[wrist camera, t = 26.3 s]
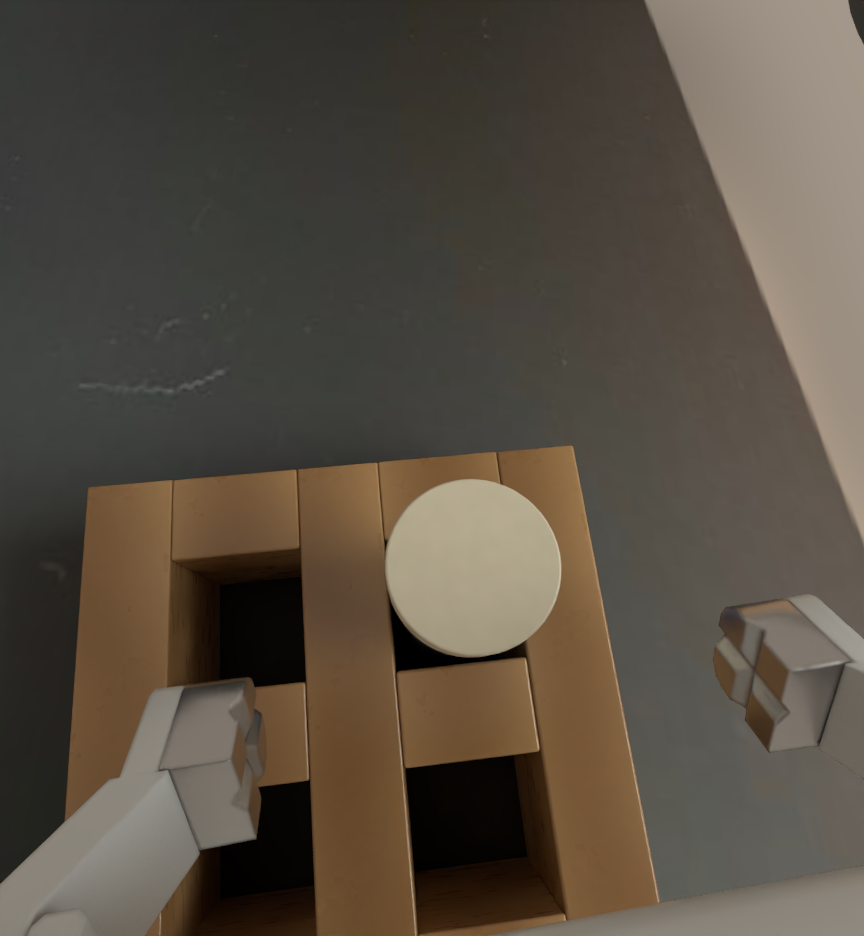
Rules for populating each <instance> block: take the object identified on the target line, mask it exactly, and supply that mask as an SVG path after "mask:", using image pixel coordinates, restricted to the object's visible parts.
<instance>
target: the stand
mask: <svg viewBox="0 0 864 936" xmlns="http://www.w3.org/2000/svg"><path fill="white" fill-rule="evenodd" d="M461 479H479V480H487V481H491V482H495V483H498V484H501V485H504V486H506V487H508V488H510V489H512V490H514V491H516V492H518V493H519V494H521V495H522V496H524V497H525V498H526V499H528V500H529V501H530V502H531V503H532V504H533V505H534V506H535V507H536V508H537V509H538V510H539V511H540V512H541V513H542V515H543V516H544V518H545V519H546V521H547V522H548V524H549V525H550V527H551V529H552V531H553V533H554V536H555V538H556V541H557V544H558V548H559V552H560V557H561V582H560V589H559V593H558V596H557V599H556V602H555V604H554V606H553V609H552V611H551V613H550V614H549V616H548V617H547V619H546V621H545V622H544V623H543V624H542V625H541V627H540V628H539V629H538V630H537V631H536V632H535V633H534V634H533V635H532V636H531V637H529V638H528V639H527V640H525V641H524V642H522V643H521V644H519V645H517V646H515V647H513V648H511V649H509V650H507V651H504V652H501V653H500V660H492V661H483V662H474V663H465V664H456V665H448V666H439V667H430V668H421V669H412V670H403V671H398V672H397V661H396V649H395V638H394V626H393V614H392V603H391V600H390V596H389V593H388V589H387V584H386V577H385V553H386V547H387V543H388V539H389V536H390V534H391V531H392V529H393V527H394V525H395V523H396V521H397V519H398V518H399V516H400V515H401V514H402V512H403V511H404V510H405V508H406V507H407V506H408V505H409V504H410V503H411V502H412V501H413V500H415V499H416V498H417V497H418V496H420V495H421V494H422V493H424V492H426V491H427V490H429V489H431V488H433V487H435V486H438V485H440V484H443V483H446V482H450V481H455V480H461ZM295 577H302V599H303V623H304V647H305V671H306V682H297V683H289V684H280V685H271V686H262V687H255V691H256V700H255V707H254V708H255V709H256V710H258V711H259V712H261V713H262V716H263V720H264V724H265V731H266V749H267V757H266V767H265V774H264V775H263V776H262V777H261V778H260V780H259V781H258V782H257V784H258V787H263V786H271V785H279V784H287V783H295V782H303V781H308V780H309V779H310V791H311V816H312V840H313V864H314V886H309V887H302V888H295V889H288V890H280V891H273V892H266V893H259V894H251V895H244V896H237V897H230V898H222V899H221V900H220V846H219V847H214V848H209V849H204V850H199V852H200V855H199V856H198V858H197V859H196V861H195V862H194V863H193V865H192V866H191V868H190V869H189V871H188V872H187V874H186V875H185V877H184V878H183V880H182V881H181V883H180V884H179V886H178V887H177V889H176V890H175V892H174V893H173V894H172V896H171V897H170V899H169V900H168V902H167V903H166V905H165V906H164V908H163V909H162V911H161V912H160V914H159V915H158V917H157V918H156V920H155V921H154V923H153V924H152V925H151V927H150V928H149V930H148V931H147V933H146V934H145V936H487V935H493V934H498V933H503V932H509V931H514V930H519V929H525V928H530V927H535V926H541V925H546V924H551V923H557V922H562V921H567V920H572V919H578V918H583V917H588V916H594V915H599V914H604V913H610V912H615V911H620V910H626V909H631V908H636V907H641V906H647V905H652V904H657V903H660V898H659V893H658V888H657V883H656V878H655V872H654V867H653V862H652V857H651V851H650V846H649V841H648V836H647V831H646V825H645V820H644V815H643V810H642V804H641V799H640V794H639V789H638V784H637V778H636V773H635V768H634V763H633V757H632V752H631V747H630V742H629V737H628V731H627V726H626V721H625V716H624V710H623V705H622V700H621V695H620V690H619V684H618V679H617V674H616V669H615V663H614V658H613V653H612V648H611V643H610V637H609V632H608V627H607V622H606V616H605V611H604V606H603V601H602V596H601V590H600V585H599V580H598V575H597V570H596V564H595V559H594V554H593V549H592V543H591V538H590V533H589V528H588V523H587V517H586V512H585V507H584V502H583V496H582V491H581V486H580V481H579V476H578V470H577V465H576V460H575V455H574V449H573V447H572V446H558V447H547V448H536V449H524V450H513V451H502V452H497V454H496V453H495V452H487V453H476V454H464V455H453V456H441V457H430V458H419V459H407V460H396V461H385V462H379V463H378V464H377V463H364V464H353V465H341V466H330V467H318V468H307V469H299V470H298V471H296V470H284V471H273V472H262V473H250V474H239V475H227V476H216V477H205V478H193V479H182V480H175V481H174V482H173V481H172V480H167V481H155V482H144V483H132V484H121V485H110V486H98V487H89V488H88V492H87V506H86V521H85V535H84V549H83V564H82V578H81V592H80V607H79V621H78V635H77V650H76V664H75V678H74V693H73V707H72V721H71V736H70V750H69V764H68V779H67V793H66V807H65V821H66V820H67V819H68V818H69V817H70V816H71V815H72V814H74V813H75V812H76V811H77V810H78V809H79V808H80V807H81V806H82V805H83V804H84V803H85V802H86V801H87V800H88V799H89V798H90V797H91V796H92V795H93V794H94V793H95V792H96V791H97V790H98V789H100V788H101V787H102V786H103V785H104V784H105V783H106V782H107V781H108V780H109V779H113V778H119V777H120V774H121V771H122V768H123V766H124V763H125V760H126V757H127V755H128V752H129V749H130V746H131V744H132V741H133V738H134V736H135V733H136V730H137V727H138V725H139V722H140V719H141V716H142V714H143V711H144V708H145V705H146V703H147V700H148V697H149V696H150V695H151V693H152V692H153V691H154V690H155V689H158V688H167V687H176V686H185V685H187V684H194V683H203V682H211V681H219V680H220V584H221V585H225V584H235V583H245V582H255V581H265V580H275V579H285V578H295ZM510 755H514V763H515V770H516V777H517V785H518V792H519V799H520V807H521V814H522V821H523V829H524V836H525V843H526V851H527V857H520V858H513V859H506V860H498V861H491V862H484V863H477V864H469V865H462V866H455V867H447V868H440V869H433V870H426V871H418V872H415V870H414V859H413V847H412V835H411V824H410V812H409V801H408V789H407V777H406V768H414V767H422V766H430V765H438V764H446V763H454V762H462V761H470V760H478V759H486V758H494V757H502V756H510Z"/></svg>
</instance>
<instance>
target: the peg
mask: <svg viewBox="0 0 864 936" xmlns="http://www.w3.org/2000/svg"><path fill="white" fill-rule="evenodd" d="M385 577H386V584H387V589H388V593H389V596H390V600H391V603H392V605H393V607H394V609H395V612H396V613H397V615H398V617H399V618H400V620H401V621H402V623H403V625H404V629H405V631H406V634H407V636H408V637H409V639H410V640H411V641H412V643H413V644H414V645H415V646H416V647H418V648H419V649H420V650H422V651H424V652H426V653H428V654H431V655H436V656H447V655H453V656H457V657H468V658H470V657H483V656H488V655H493V654H498V653H501V652H504V651H507V650H509V649H511V648H513V647H515V646H517V645H519V644H521V643H522V642H524V641H525V640H527V639H528V638H529V637H531V636H532V635H533V634H534V633H535V632H536V631H537V630H538V629H539V628H540V627H541V625H542V624H543V623H544V622H545V621H546V619H547V617H548V616H549V614H550V613H551V611H552V609H553V606H554V604H555V602H556V599H557V596H558V593H559V589H560V582H561V557H560V552H559V548H558V544H557V541H556V538H555V536H554V533H553V531H552V529H551V527H550V525H549V524H548V522H547V521H546V519H545V518H544V516H543V515H542V513H541V512H540V511H539V510H538V509H537V508H536V507H535V506H534V505H533V504H532V503H531V502H530V501H529V500H528V499H526V498H525V497H524V496H522V495H521V494H519V493H518V492H516V491H514V490H512V489H510V488H508V487H506V486H504V485H501V484H498V483H495V482H491V481H487V480H479V479H461V480H455V481H450V482H446V483H443V484H440V485H438V486H435V487H433V488H431V489H429V490H427V491H426V492H424V493H422V494H421V495H420V496H418V497H417V498H416V499H415V500H413V501H412V502H411V503H410V504H409V505H408V506H407V507H406V508H405V510H404V511H403V512H402V514H401V515H400V516H399V518H398V519H397V521H396V523H395V525H394V527H393V529H392V531H391V534H390V536H389V539H388V543H387V547H386V553H385Z"/></svg>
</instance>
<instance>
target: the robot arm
mask: <svg viewBox="0 0 864 936" xmlns="http://www.w3.org/2000/svg"><path fill="white" fill-rule="evenodd" d="M719 626H720V628H721V629H722V630H723V631H724V633H725V634H724V635H723V637H722V638H721V639H720V640H719V641H718V642H717V643H716V644H715V649H714V657H713V662H714V667H715V672H716V676H717V678H718V680H719V683H720V685H721V687H722V689H723V690H724V691H725V693H726V694H727V696H728V697H729V699H731V700H732V701H734V702H736V703H738V704H740V705H741V706H743V707H745V708H746V715H745V721H746V722H747V723H748V725H749V726H750V727H751V729H752V730H753V732H754V733H755V734H756V736H757V737H758V738H759V740H760V741H761V742H762V744H763V745H764V747H765V748H766V749H767V751H768V752H769V753H772V752H779V751H787V750H794V749H801V748H808V747H816V746H819V749H820V750H821V751H823V752H824V753H826V754H827V755H829V756H830V757H832V758H833V759H835V760H836V761H838V762H839V763H841V764H842V765H844V766H845V767H847V768H848V769H850V770H851V771H853V772H854V773H856V774H857V775H859V776H860V777H861V778H863V779H864V639H863V638H862V637H860V636H859V635H858V634H857V633H856V632H855V631H854V630H853V629H852V628H851V627H849V626H848V625H847V624H846V623H845V622H844V621H843V620H842V619H841V618H839V617H838V616H837V615H836V614H835V613H834V612H833V611H832V610H831V609H830V608H828V607H827V606H826V605H825V604H824V603H823V602H822V601H821V600H820V599H819V598H817V597H815V596H812V595H810V594H805V595H799V596H792V597H786V598H781V599H775V600H769V601H762V602H756V603H749V604H743V605H736V606H730V607H726V608H725V609H724V610H723V612H722V613H721V616H720V621H719ZM255 700H256V691H255V687H254V684H253V681H252V679H251V678H249V677H244V678H236V679H227V680H219V681H211V682H203V683H194V684H187V685H185V686H176V687H167V688H158V689H155V690H154V691H153V692H152V693H151V695H150V696H149V697H148V700H147V703H146V705H145V708H144V711H143V714H142V716H141V719H140V722H139V725H138V727H137V730H136V733H135V736H134V738H133V741H132V744H131V746H130V749H129V752H128V755H127V757H126V760H125V763H124V766H123V768H122V771H121V774H120V777H119V778H113V779H109V780H108V781H107V782H106V783H105V784H104V785H103V786H102V787H101V788H100V789H98V790H97V791H96V792H95V793H94V794H93V795H92V796H91V797H90V798H89V799H88V800H87V801H86V802H85V803H84V804H83V805H82V806H81V807H80V808H79V809H78V810H77V811H76V812H75V813H74V814H72V815H71V816H70V817H69V818H68V819H67V820H66V821H65V822H64V823H63V824H62V825H61V826H60V827H59V828H58V829H57V830H56V831H55V832H54V833H53V834H52V835H51V836H50V837H49V838H48V839H46V840H45V841H44V842H43V843H42V844H41V845H40V846H39V847H38V848H37V849H36V850H35V851H34V852H33V853H32V854H31V855H30V856H29V857H28V858H27V859H26V860H25V861H24V862H23V863H22V864H20V865H19V866H18V867H17V868H16V869H15V870H14V871H13V872H12V873H11V874H10V875H9V876H8V877H7V878H6V879H5V880H4V881H3V882H2V883H1V884H0V936H145V934H146V933H147V931H148V930H149V928H150V927H151V925H152V924H153V923H154V921H155V920H156V918H157V917H158V915H159V914H160V912H161V911H162V909H163V908H164V906H165V905H166V903H167V902H168V900H169V899H170V897H171V896H172V894H173V893H174V892H175V890H176V889H177V887H178V886H179V884H180V883H181V881H182V880H183V878H184V877H185V875H186V874H187V872H188V871H189V869H190V868H191V866H192V865H193V863H194V862H195V861H196V859H197V858H198V856H199V855H200V852H199V850H204V849H209V848H214V847H219V846H224V845H229V844H234V843H239V842H244V841H249V840H254V839H256V837H257V829H258V822H259V814H260V807H261V795H260V792H259V788H258V784H257V782H258V781H259V780H260V778H261V777H262V776H263V775H264V774H265V767H266V757H267V749H266V731H265V724H264V720H263V716H262V713H261V712H259V711H258V710H256V709H255V708H254V707H255ZM487 936H864V865H860V866H854V867H849V868H844V869H838V870H833V871H828V872H822V873H817V874H812V875H806V876H801V877H796V878H790V879H785V880H780V881H775V882H769V883H764V884H759V885H753V886H748V887H743V888H737V889H732V890H727V891H721V892H716V893H711V894H705V895H700V896H695V897H689V898H684V899H679V900H673V901H668V902H663V903H657V904H652V905H647V906H641V907H636V908H631V909H626V910H620V911H615V912H610V913H604V914H599V915H594V916H588V917H583V918H578V919H572V920H567V921H562V922H557V923H551V924H546V925H541V926H535V927H530V928H525V929H519V930H514V931H509V932H503V933H498V934H493V935H487Z"/></svg>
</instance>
